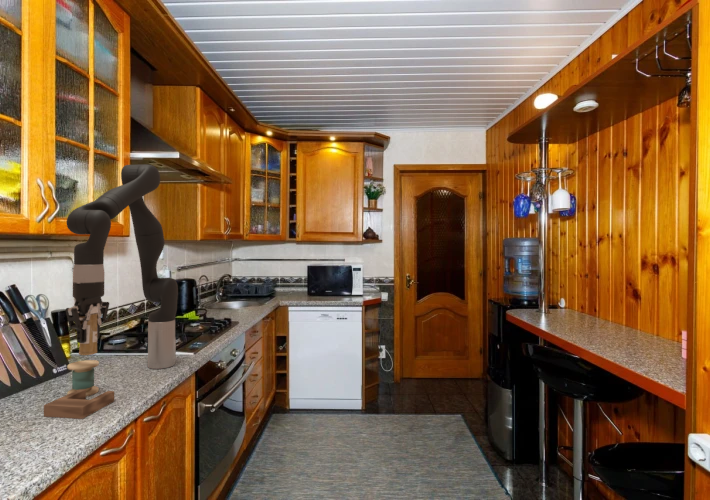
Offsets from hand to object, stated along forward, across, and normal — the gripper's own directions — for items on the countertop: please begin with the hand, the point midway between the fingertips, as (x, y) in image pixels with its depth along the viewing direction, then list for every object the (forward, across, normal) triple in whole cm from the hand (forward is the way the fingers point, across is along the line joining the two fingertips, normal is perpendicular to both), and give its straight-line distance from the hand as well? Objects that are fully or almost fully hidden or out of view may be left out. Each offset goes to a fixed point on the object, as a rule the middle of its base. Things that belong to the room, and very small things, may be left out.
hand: (88, 340), depth 115 cm
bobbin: (+18, -8, -8) cm, 22 cm away
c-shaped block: (+18, +3, 0) cm, 19 cm away
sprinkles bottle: (+4, 0, 0) cm, 4 cm away
